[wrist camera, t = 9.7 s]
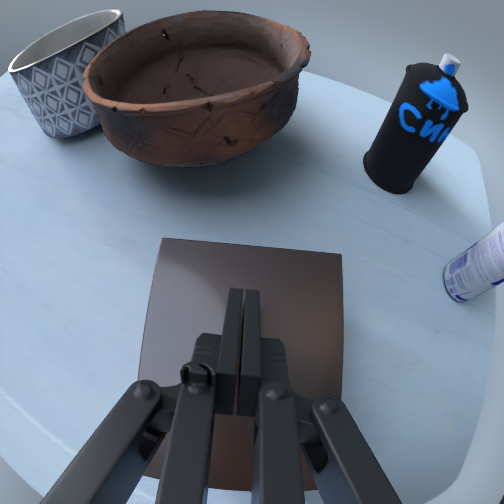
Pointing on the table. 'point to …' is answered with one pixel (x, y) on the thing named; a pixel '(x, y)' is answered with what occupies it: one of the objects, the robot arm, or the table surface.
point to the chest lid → (271, 324)
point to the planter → (64, 72)
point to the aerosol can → (416, 124)
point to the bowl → (196, 86)
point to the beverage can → (477, 267)
